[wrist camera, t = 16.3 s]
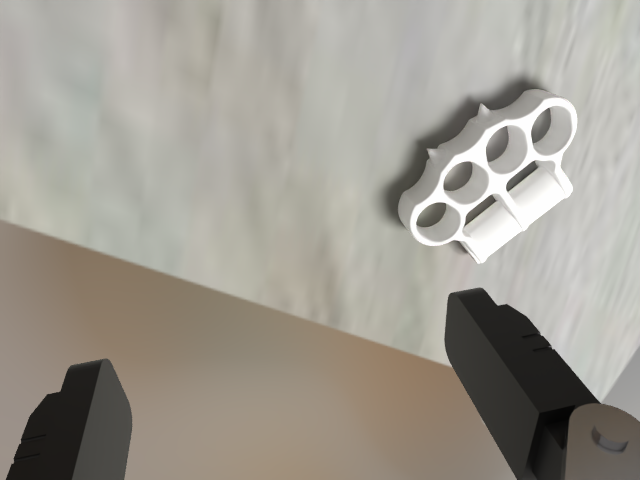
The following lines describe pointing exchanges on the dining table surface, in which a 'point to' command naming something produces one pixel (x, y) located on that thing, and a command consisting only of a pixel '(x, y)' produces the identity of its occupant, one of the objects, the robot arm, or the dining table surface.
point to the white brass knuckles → (494, 176)
